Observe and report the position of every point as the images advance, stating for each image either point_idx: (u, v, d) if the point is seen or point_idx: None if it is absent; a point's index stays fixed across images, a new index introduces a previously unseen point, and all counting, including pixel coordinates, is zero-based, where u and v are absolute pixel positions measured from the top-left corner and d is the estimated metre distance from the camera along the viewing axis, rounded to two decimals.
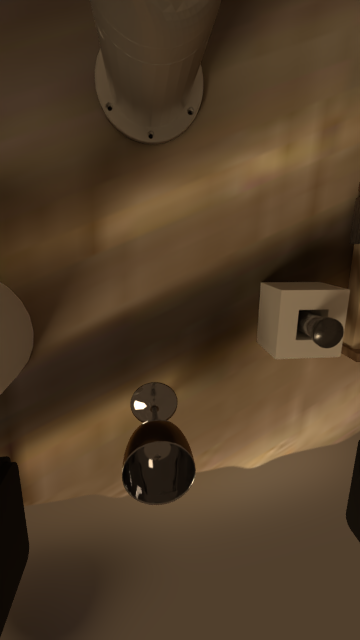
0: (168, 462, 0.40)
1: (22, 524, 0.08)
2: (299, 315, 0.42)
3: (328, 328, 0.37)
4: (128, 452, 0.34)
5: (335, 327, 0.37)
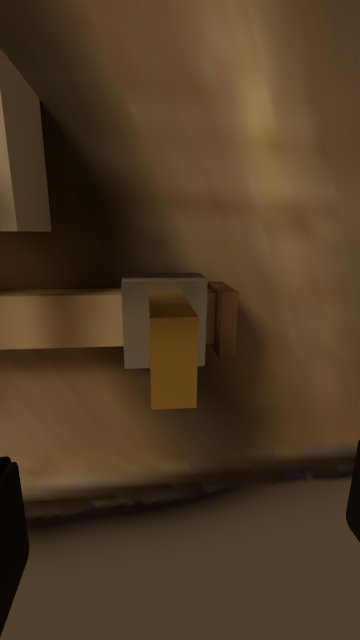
0: None
1: (22, 524, 0.08)
2: None
3: None
4: None
5: None
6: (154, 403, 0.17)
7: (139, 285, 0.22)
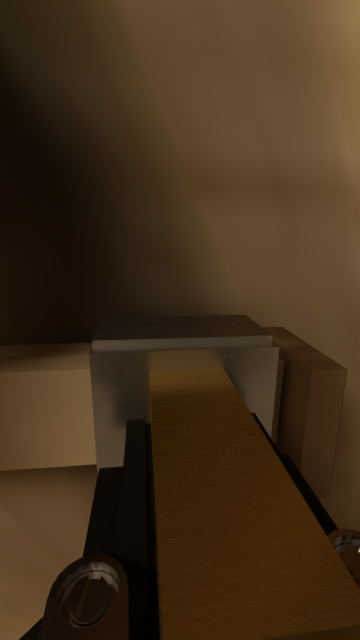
0: None
1: None
2: None
3: None
4: None
5: None
6: None
7: (131, 358, 0.10)
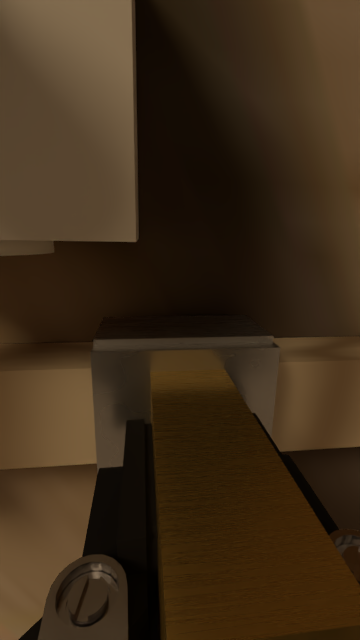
0: None
1: None
2: None
3: None
4: None
5: None
6: None
7: (133, 357, 0.10)
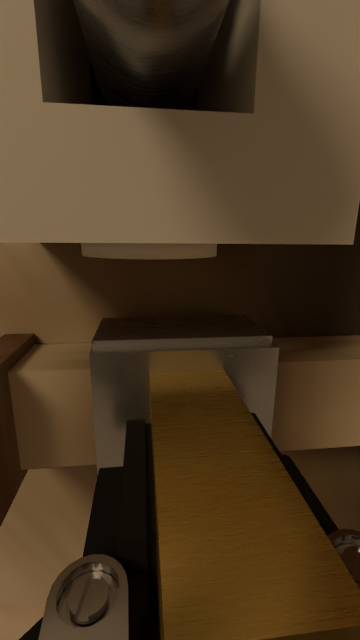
0: None
1: None
2: None
3: None
4: None
5: None
6: None
7: (132, 358, 0.10)
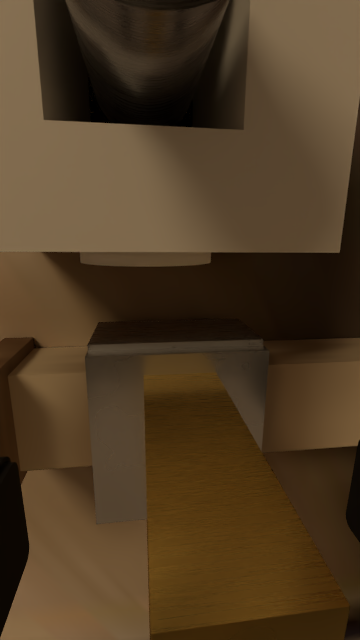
0: None
1: (22, 524, 0.08)
2: None
3: None
4: None
5: None
6: None
7: (126, 362, 0.10)
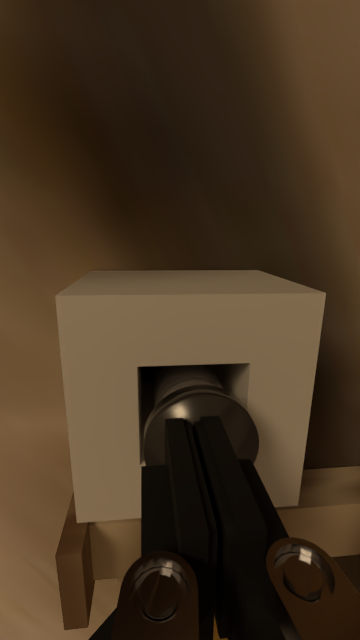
0: None
1: None
2: None
3: None
4: None
5: None
6: None
7: None
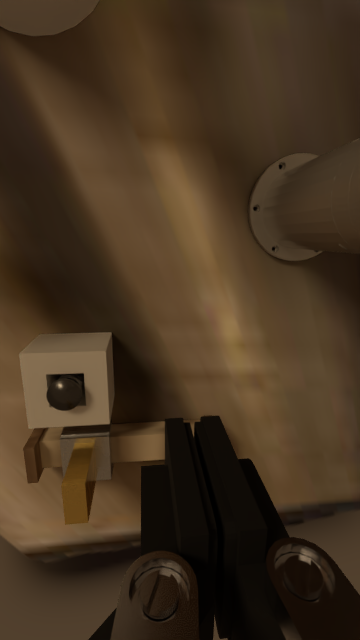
0: None
1: None
2: None
3: (69, 394, 0.34)
4: None
5: (71, 401, 0.34)
6: (66, 521, 0.34)
7: (70, 440, 0.40)
